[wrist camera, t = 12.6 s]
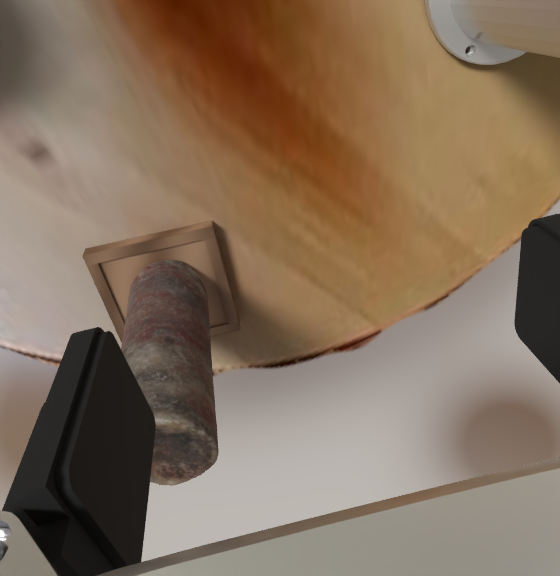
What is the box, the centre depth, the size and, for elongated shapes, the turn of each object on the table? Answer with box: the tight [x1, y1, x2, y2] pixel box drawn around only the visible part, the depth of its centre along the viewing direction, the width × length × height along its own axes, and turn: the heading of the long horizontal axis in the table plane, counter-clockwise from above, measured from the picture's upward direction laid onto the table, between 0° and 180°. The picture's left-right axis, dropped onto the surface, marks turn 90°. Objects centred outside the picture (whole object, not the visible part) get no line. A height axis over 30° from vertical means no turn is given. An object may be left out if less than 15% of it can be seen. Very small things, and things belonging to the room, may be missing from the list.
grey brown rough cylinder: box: [121, 260, 218, 485], centre depth 39 cm, size 8×7×20 cm
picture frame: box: [83, 221, 240, 342], centre depth 48 cm, size 12×12×2 cm
